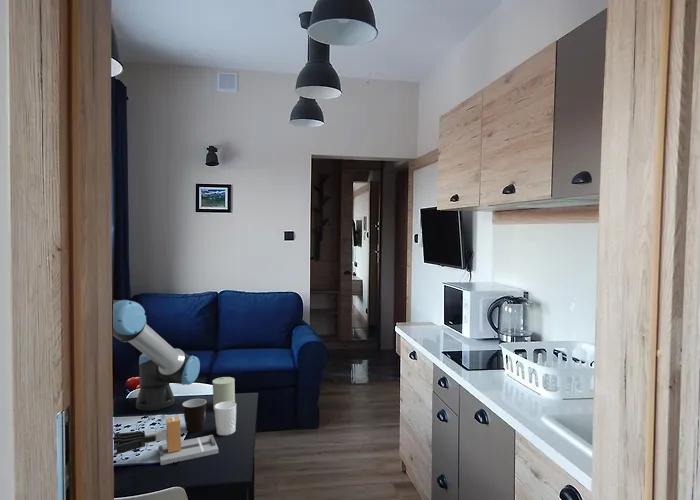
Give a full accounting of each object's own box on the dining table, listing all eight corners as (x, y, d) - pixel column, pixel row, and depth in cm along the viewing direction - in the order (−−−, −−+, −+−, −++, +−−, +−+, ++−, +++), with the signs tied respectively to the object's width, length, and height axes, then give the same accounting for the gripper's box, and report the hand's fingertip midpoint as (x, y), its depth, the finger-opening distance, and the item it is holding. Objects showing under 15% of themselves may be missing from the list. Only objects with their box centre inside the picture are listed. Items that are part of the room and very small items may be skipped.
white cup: (225, 438, 170) (224, 410, 170) (210, 433, 174) (209, 406, 174) (241, 430, 177) (240, 403, 176) (226, 425, 181) (225, 399, 181)
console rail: (158, 449, 162) (158, 442, 162) (212, 438, 170) (212, 432, 170) (160, 465, 151) (160, 457, 151) (218, 453, 159) (218, 445, 159)
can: (231, 401, 206) (231, 374, 206) (238, 408, 198) (237, 380, 198) (210, 406, 202) (209, 378, 201) (216, 413, 194) (215, 384, 193)
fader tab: (167, 447, 159) (166, 417, 159) (179, 445, 161) (178, 415, 161) (168, 452, 156) (167, 422, 155) (181, 450, 158) (180, 419, 157)
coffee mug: (200, 434, 173) (199, 407, 173) (178, 433, 175) (177, 406, 175) (215, 421, 185) (214, 396, 184) (195, 420, 187) (194, 395, 186)
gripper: (87, 452, 153) (165, 437, 163) (83, 471, 141) (168, 454, 151) (86, 429, 153) (164, 416, 162) (82, 446, 141) (167, 430, 151)
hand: (166, 434), depth 157 cm, fingers closed
